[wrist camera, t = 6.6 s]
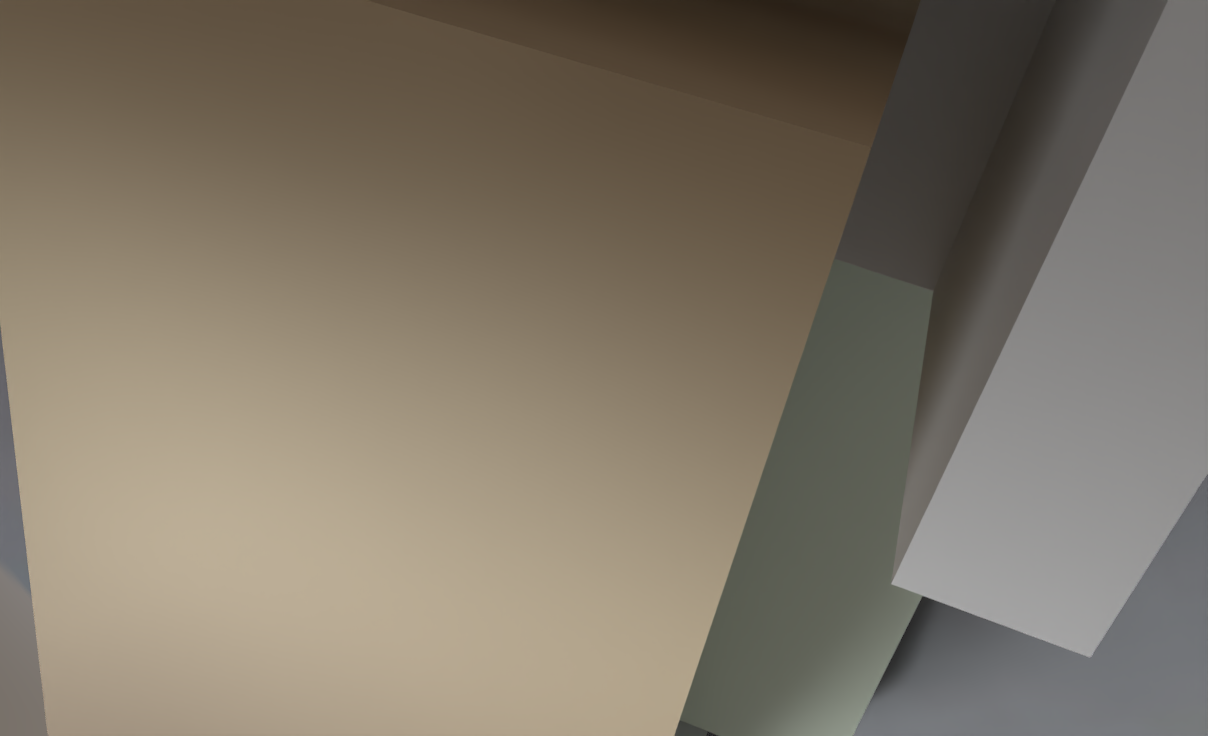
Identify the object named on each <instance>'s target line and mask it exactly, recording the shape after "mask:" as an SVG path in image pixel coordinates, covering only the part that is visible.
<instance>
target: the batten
mask: <svg viewBox="0 0 1208 736" xmlns="http://www.w3.org/2000/svg"><path fill="white" fill-rule="evenodd" d="M920 1H921V0H0V325H1V334H2V343H3V351H4V360H5V369H6V377H7V386H8V395H9V403H10V412H11V421H12V429H13V438H14V447H15V455H16V464H17V473H18V481H19V490H20V499H21V507H22V516H23V525H24V533H25V542H26V551H27V559H28V568H29V577H30V585H31V594H32V603H33V611H34V619H35V628H36V636H37V646H38V655H39V663H40V672H41V681H42V689H43V698H44V707H45V715H46V724H47V732H48V736H674V735H675V732H676V729H677V726H678V723H679V720H680V717H681V714H682V711H683V708H684V705H685V702H686V699H687V696H688V693H689V690H690V687H691V684H692V681H693V678H694V675H695V672H696V669H697V666H698V663H699V660H700V657H701V654H702V651H703V648H704V645H705V642H706V639H707V636H708V633H709V630H710V627H711V624H712V621H713V618H714V615H715V613H716V610H717V607H718V604H719V601H720V598H721V595H722V592H723V589H724V586H725V583H726V580H727V577H728V574H729V571H730V568H731V565H732V562H733V559H734V556H735V553H736V550H737V547H738V544H739V541H740V538H741V535H742V532H743V529H744V526H745V523H746V520H747V517H748V514H749V511H750V508H751V505H752V502H753V499H754V496H755V493H756V490H757V487H758V484H759V481H760V478H761V475H762V472H763V469H764V466H765V463H766V460H767V457H768V454H769V451H770V448H771V446H772V443H773V440H774V437H775V434H776V431H777V428H778V425H779V422H780V419H781V416H782V413H783V410H784V407H785V404H786V401H787V398H788V395H789V392H790V389H791V386H792V383H793V380H794V377H795V374H796V371H797V368H798V365H799V362H800V359H801V356H802V353H803V350H804V347H805V344H806V341H807V338H808V335H809V332H810V329H811V326H812V323H813V320H814V317H815V314H816V311H817V308H818V305H819V302H820V299H821V296H822V293H823V290H824V287H825V284H826V281H827V279H828V276H829V273H830V270H831V267H832V264H833V261H834V258H835V255H836V252H837V249H838V246H839V243H840V240H841V237H842V234H843V231H844V228H845V225H846V222H847V219H848V216H849V213H850V210H851V207H852V204H853V201H854V198H855V195H856V192H857V189H858V186H859V183H860V180H861V177H862V174H863V171H864V168H865V165H866V162H867V159H868V156H869V153H870V150H871V147H872V144H873V141H874V138H875V135H876V132H877V129H878V126H879V123H880V120H881V117H882V114H883V111H884V108H885V105H886V102H887V99H888V97H889V94H890V91H891V88H892V85H893V82H894V79H895V76H896V73H897V70H898V67H899V64H900V61H901V58H902V55H903V52H904V49H905V46H906V43H907V40H908V37H909V34H910V31H911V28H912V25H913V22H914V19H915V16H916V13H917V10H918V7H919V4H920Z"/></svg>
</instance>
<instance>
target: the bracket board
mask: <svg viewBox="0 0 1208 736" xmlns="http://www.w3.org/2000/svg"><path fill="white" fill-rule="evenodd" d="M1207 474H1208V0H921V1H920V4H919V7H918V10H917V13H916V16H915V19H914V22H913V25H912V28H911V31H910V34H909V37H908V40H907V43H906V46H905V49H904V52H903V55H902V58H901V61H900V64H899V67H898V70H897V73H896V76H895V79H894V82H893V85H892V88H891V91H890V94H889V97H888V99H887V102H886V105H885V108H884V111H883V114H882V117H881V120H880V123H879V126H878V129H877V132H876V135H875V138H874V141H873V144H872V147H871V150H870V153H869V156H868V159H867V162H866V165H865V168H864V171H863V174H862V177H861V180H860V183H859V186H858V189H857V192H856V195H855V198H854V201H853V204H852V207H851V210H850V213H849V216H848V219H847V222H846V225H845V228H844V231H843V234H842V237H841V240H840V243H839V246H838V249H837V252H836V255H835V258H834V261H833V264H832V267H831V270H830V273H829V276H828V279H827V281H826V284H825V287H824V290H823V293H822V296H821V299H820V302H819V305H818V308H817V311H816V314H815V317H814V320H813V323H812V326H811V329H810V332H809V335H808V338H807V341H806V344H805V347H804V350H803V353H802V356H801V359H800V362H799V365H798V368H797V371H796V374H795V377H794V380H793V383H792V386H791V389H790V392H789V395H788V398H787V401H786V404H785V407H784V410H783V413H782V416H781V419H780V422H779V425H778V428H777V431H776V434H775V437H774V440H773V443H772V446H771V448H770V451H769V454H768V457H767V460H766V463H765V466H764V469H763V472H762V475H761V478H760V481H759V484H758V487H757V490H756V493H755V496H754V499H753V502H752V505H751V508H750V511H749V514H748V517H747V520H746V523H745V526H744V529H743V532H742V535H741V538H740V541H739V544H738V547H737V550H736V553H735V556H734V559H733V562H732V565H731V568H730V571H729V574H728V577H727V580H726V583H725V586H724V589H723V592H722V595H721V598H720V601H719V604H718V607H717V610H716V613H715V615H714V618H713V621H712V624H711V627H710V630H709V633H708V636H707V639H706V642H705V645H704V648H703V651H702V654H701V657H700V660H699V663H698V666H697V669H696V672H695V675H694V678H693V681H692V684H691V687H690V690H689V693H688V696H687V699H686V702H685V705H684V708H683V711H682V714H681V717H680V720H679V723H678V726H677V729H676V732H675V735H674V736H706V735H707V732H711V733H713V734H716V735H718V736H853V734H854V732H855V730H856V728H857V726H858V724H859V722H860V720H861V718H862V716H863V714H864V712H865V710H866V708H867V706H868V704H869V702H870V700H871V698H872V696H873V694H874V692H875V690H876V688H877V686H878V684H879V682H880V680H881V678H882V676H883V674H884V672H885V670H886V668H887V666H888V664H889V662H890V660H891V658H892V656H893V654H894V652H895V650H896V648H897V646H898V644H899V642H900V640H901V638H902V636H903V634H904V632H905V630H906V628H907V626H908V624H909V622H910V620H911V618H912V616H913V614H914V612H915V610H916V608H917V606H918V604H919V602H920V600H921V598H922V596H925V597H928V598H930V599H933V600H936V601H938V602H941V603H944V604H947V605H949V606H952V607H955V608H957V609H960V610H963V611H965V612H968V613H971V614H974V615H976V616H979V617H982V618H984V619H987V620H990V621H993V622H995V623H998V624H1001V625H1003V626H1006V627H1009V628H1011V629H1014V630H1017V631H1020V632H1022V633H1025V634H1028V635H1030V636H1033V637H1036V638H1039V639H1041V640H1044V641H1047V642H1049V643H1052V644H1055V645H1057V646H1060V647H1063V648H1066V649H1068V650H1071V651H1074V652H1076V653H1079V654H1082V655H1085V656H1087V657H1091V656H1092V654H1093V653H1094V651H1095V650H1096V648H1097V646H1098V645H1099V643H1100V642H1101V640H1102V639H1103V637H1104V635H1105V634H1106V632H1107V631H1108V629H1109V628H1110V626H1111V624H1112V623H1113V621H1114V620H1115V618H1116V617H1117V615H1118V613H1119V612H1120V610H1121V609H1122V607H1123V606H1124V604H1125V602H1126V601H1127V599H1128V598H1129V596H1130V595H1131V593H1132V592H1133V590H1134V588H1135V587H1136V585H1137V584H1138V582H1139V581H1140V579H1141V577H1142V576H1143V574H1144V573H1145V571H1146V570H1147V568H1148V566H1149V565H1150V563H1151V562H1152V560H1153V559H1154V557H1155V555H1156V554H1157V552H1158V551H1159V549H1160V548H1161V546H1162V544H1163V543H1164V541H1165V540H1166V538H1167V537H1168V535H1169V533H1170V532H1171V530H1172V529H1173V527H1174V526H1175V524H1176V522H1177V521H1178V519H1179V518H1180V516H1181V515H1182V513H1183V511H1184V510H1185V508H1186V507H1187V505H1188V504H1189V502H1190V500H1191V499H1192V497H1193V496H1194V494H1195V493H1196V491H1197V489H1198V488H1199V486H1200V485H1201V483H1202V482H1203V480H1204V478H1205V477H1206V475H1207Z"/></svg>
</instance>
